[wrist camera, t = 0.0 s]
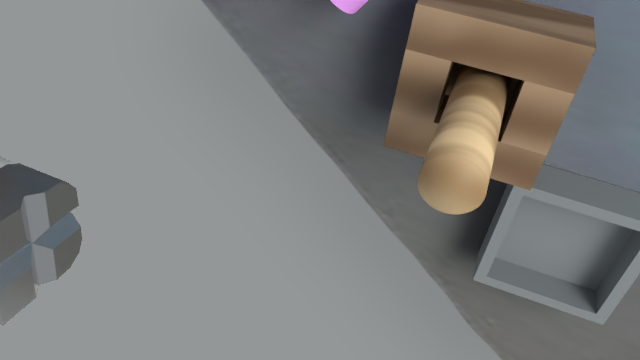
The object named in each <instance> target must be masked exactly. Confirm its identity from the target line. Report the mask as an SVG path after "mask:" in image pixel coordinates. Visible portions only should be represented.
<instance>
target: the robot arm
mask: <svg viewBox="0 0 640 360" xmlns="http://www.w3.org/2000/svg"><path fill="white" fill-rule="evenodd" d="M78 206H79V205H78V198H77V191H76V188H75V187H73V186H72V185H70V184H69V183H67V182H65V181H62V180H60V179H57V178H54V177H52V176H50V175H47V174H45V173H42V172H40V171H37V170H35V169H32V168H29V167H27V166H24V165H22V164H19V163H18V164H17V163H15V162H12V161H10V160H7V159H5V158H2V157H0V324H1V325H4V324H5V323H6V322H8V321H9V320H10V319H11V318H12V317H14V316H15V315H16V314H17V313H18V312H20V311H21V310H22V309H23V308H24V307H25V306H27V305H28V304H29V303H30V302H31V301H32V300H33V299H35V298H36V296H37V291H38V286H39V285H40V284H44V283H47V282H50V281H54V280H57V279H58V278H59V277H60V276H61V275H62V274H64V273H65V272H66V271H67V270H68V269H69V268H70V267H71V265H72V263H73V262H74V260H75V258H76V257H77V255H78V253H79V250H80V246H81V241H82V235H81V227H80V225H79V223H78V222H77V221H76V219H75V217H74V216H73V214H72V212H73V211H74V210H75V209H76V208H77V207H78Z"/></svg>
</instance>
